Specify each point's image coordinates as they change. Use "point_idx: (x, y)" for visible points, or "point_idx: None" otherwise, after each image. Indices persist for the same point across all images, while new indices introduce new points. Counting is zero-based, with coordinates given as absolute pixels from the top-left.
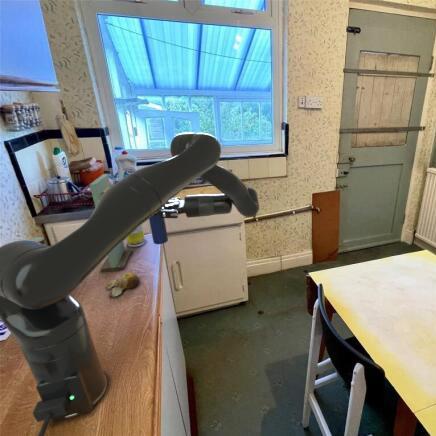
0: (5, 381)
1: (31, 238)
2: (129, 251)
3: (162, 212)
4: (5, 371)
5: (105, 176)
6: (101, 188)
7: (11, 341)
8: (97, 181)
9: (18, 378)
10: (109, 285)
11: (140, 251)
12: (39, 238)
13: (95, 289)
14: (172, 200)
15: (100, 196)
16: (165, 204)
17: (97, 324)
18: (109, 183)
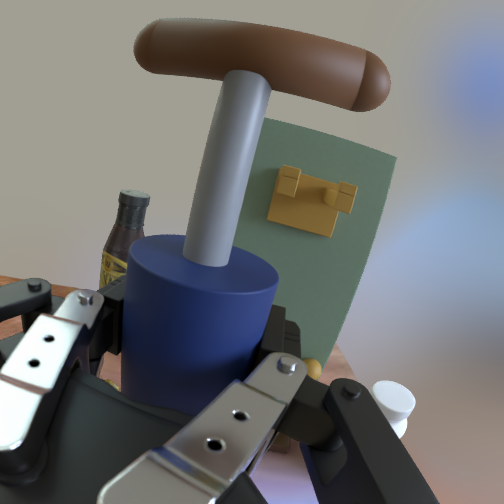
0: (11, 277)
1: (147, 194)
2: (275, 443)
3: (144, 398)
4: (24, 279)
5: (366, 147)
6: (287, 155)
7: (69, 289)
8: (284, 122)
9: (3, 281)
10: (106, 381)
11: (284, 474)
12: (137, 195)
13: (117, 366)
14: (241, 454)
15: (252, 172)
16: (309, 433)
17: (6, 336)
18: (382, 193)
